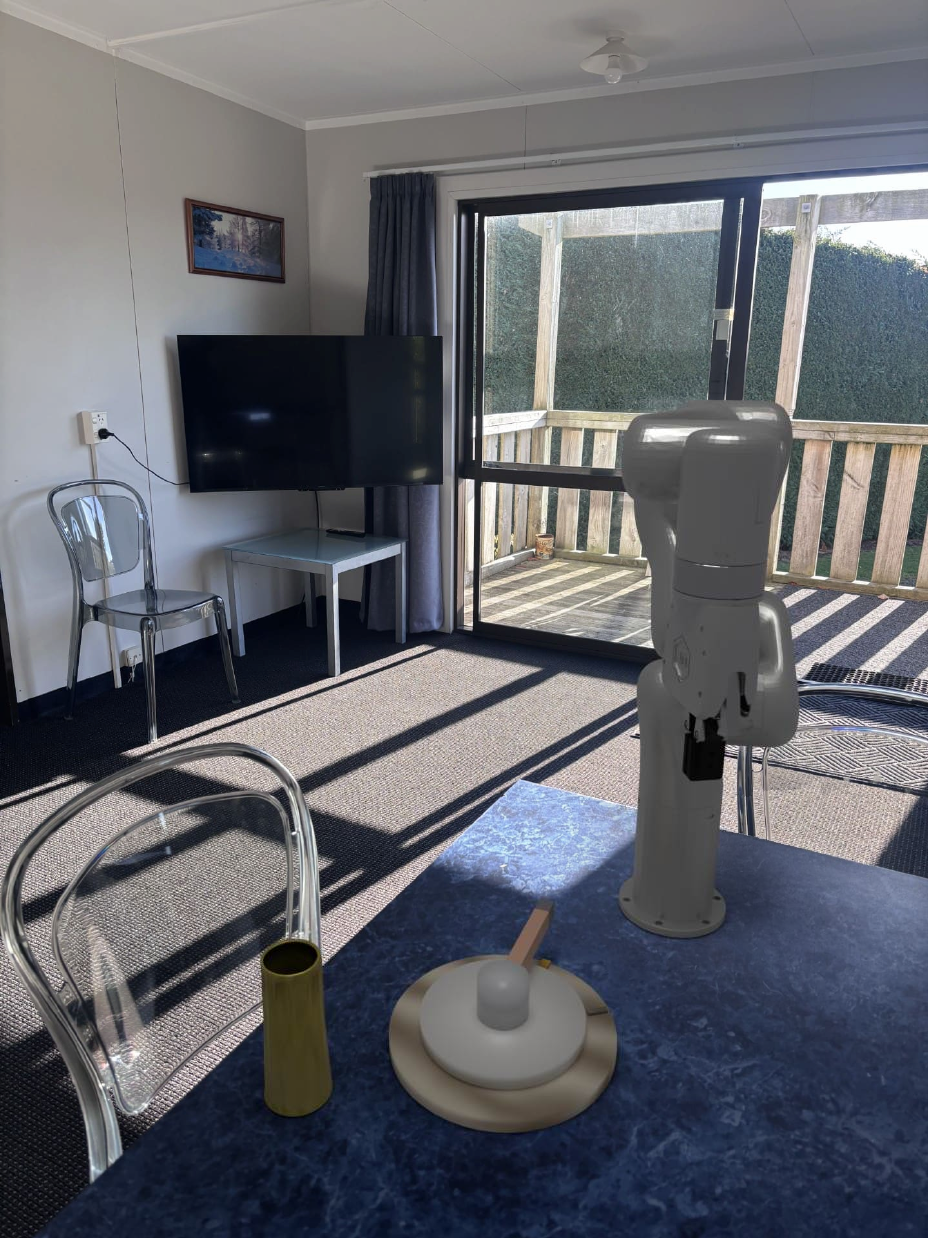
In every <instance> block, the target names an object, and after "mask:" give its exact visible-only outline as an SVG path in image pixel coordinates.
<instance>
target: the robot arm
mask: <svg viewBox="0 0 928 1238" xmlns="http://www.w3.org/2000/svg"><path fill="white" fill-rule="evenodd" d="M793 436H794V434H793V424H792V421H791V418H790V416H789V414H788V412H787V410H786V409H785V408H784V407H783V406H782V405H781V404H779V403H777V402H775V401H771V400H745V399H743V400H742V399H741V400H738V399H737V400H735V399H733V400H732V399H731V400H730V399H729V400H728V399H725V400H724V399H717V400H716V399H699V400H691V401H688V402H685V403H683V404H681V405H679V406H678V407H676V408H675V409H673V410H668V411H660V412H659V411H658V412H653V413H645V414H640V415H637V416H635V417H634V418H633V419H632V420H631V422H630V423H629V425H628V427H627V430H626V431H625V436H624V439H623V443H622V450H621V457H620V459H621V462H620V463H621V464H620V469H621V479H622V485H623V487H624V489H625V491H626V493H627V495H628V496H629V498H631V499H632V500H633V511H634V512H633V514H634V521H635V526H636V532H637V535H638V538H639V541H640V544H641V547H642V550H643V553H644V555H645V557H646V560H647V563H648V564H649V568H650V574H651V577H650V578H651V581H650V583H651V585H650V586H651V589H650V594H651V596H650V635H651V641H652V644H653V648H654V650H655V652H656V653H657V655H658V656H660V657H661V658H659V659H657V660H654V661H652V662H650V663H648V664H647V665H646V666H644V668H643V669H642V670H641V672H640V673H639V676H638V678H637V683H636V707H637V708H636V709H637V717H638V718H637V719H638V729H639V778H638V792H637V793H638V794H637V795H638V797H637V810H636V825H635V826H636V827H635V842H634V856H633V857H634V858H633V859H634V860H633V874H632V876H631V877H629V878H628V879H627V880H625V881H624V882H623V884H622V885H621V887H620V889H619V890H618V891H619V892H618V905H619V907H620V908H619V909H620V910H621V912H622V913H623V914H624V916H625V917H626V918H627V919H628V920H629V921H630V922H632V923H633V924H634V925H637V926H638V927H640V928H642V929H644V930H646V932H647V931H648V932H650V933H653V934H656V935H659V936H664V937H669V938H676V939H677V938H679V939H682V938H683V939H685V938H686V939H687V938H697V937H702V936H705V935H708V934H711V933H712V932H715V931H716V930H717V929H719V927H721V926H722V925H723V923H724V921H725V918H726V913H727V912H726V910H727V905H726V902H725V899H724V898H723V896H722V894H721V892H719V891H718V890H717V888H715V883H716V872H717V859H718V851H719V839H720V830H721V829H720V827H721V815H722V807H723V805H722V804H723V795H724V794H723V793H724V779H723V778H724V777H723V776H724V767H725V756H726V747H727V746H737V747H750V748H752V747H753V748H767V749H768V748H769V749H770V748H778V747H783V746H784V745H786V744H788V743H789V742H790V741H792V740H793V738H794V737H795V735H796V733H797V730H798V728H799V727H798V726H799V720H800V719H799V718H800V698H799V687H798V678H797V670H796V669H797V668H796V661H795V653H794V652H795V650H794V643H793V633H792V631H793V630H792V625H791V619H790V613H789V610H788V608H787V606H786V603H785V602H784V601H783V599H782V598H781V597H780V596H779V595H778V594H776V593H775V592H773V591H769V590H766V589H765V588H766V579H767V570H768V569H767V567H768V558H769V555H768V554H769V547H770V536H771V535H770V534H771V526H772V515H773V514H774V511H775V509H776V506H777V502H778V499H779V495H780V492H781V488H782V485H783V483H784V480H785V477H786V474H787V470H788V468H789V463H790V460H791V457H792V455H791V454H792V449H793V448H792V447H793V442H794V440H793V439H794V437H793Z"/></svg>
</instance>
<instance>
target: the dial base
mask: <svg viewBox="0 0 928 1238" xmlns="http://www.w3.org/2000/svg"><path fill="white" fill-rule="evenodd" d="M508 956H509V954H486V955H485V954H484V955H483V954H482V955H476V956H470V957H465V958H461V959H457V960H454V961H451V962H449V963H445V964H443V965H440V966H438V967H435V968H434V969H432V970H430V971H428V972H427V973H425V974H424V975H422V976H420V977H419V978H418V979H416V980H415V981H414V982H413V983H412V984H411V985H409V987H408V988H406V990H405V991H404V992H403V994H402V995H401V996H400V998H399V999H398V1001H397V1002H396V1004H395V1006H394V1008H393V1011H392V1013H391V1016H390V1020H389V1026H388V1027H389V1028H388V1040H389V1041H388V1042H389V1043H388V1045H389V1046H388V1047H389V1049H388V1051H389V1056H390V1061H391V1066H392V1068H393V1070H394V1073H395V1075H396V1078H397V1079H398V1081H399V1082H400V1084H401V1085H402V1087H403V1088H404V1089H405V1091H406V1092H407V1093H408V1094H409V1095H410V1096H411V1097H412V1098H413V1099H414V1100H415V1101H416V1102H418V1104H419V1105H421V1106H422V1107H424V1109H426V1110H428V1111H429V1112H431V1113H433V1115H435V1116H438V1117H440V1118H441V1119H444V1120H446V1121H448V1122H450V1123H453V1124H456V1125H458V1126H461V1127H463V1128H468V1129H473V1130H477V1131H481V1132H491V1133H503V1134H504V1133H505V1134H507V1133H508V1134H513V1133H526V1132H527V1133H528V1132H533V1131H538V1130H543V1129H547V1128H549V1127H550V1128H551V1127H553V1126H556V1125H559V1124H561V1123H564V1122H566V1121H568V1120H570V1119H572V1118H574V1117H576V1116H577V1115H579V1114H581V1113H582V1112H584V1111H585V1110H587V1109H588V1108H589V1107H590V1106H591V1105H592V1104H594V1103H595V1102H596V1101H597V1100H598V1099H599V1098H600V1096H601V1095H602V1094H603V1092H605V1089H606V1088H607V1086H608V1085H609V1083H610V1082H611V1079H612V1076H613V1075H614V1074H613V1073H614V1071H615V1067H616V1063H617V1052H618V1034H617V1028H616V1023H615V1020H614V1018H613V1015H612V1012H611V1011H610V1009H609V1007H608V1005H607V1004H606V1003H605V1001H604V1000H603V999H602V997H601V996H600V995H599V994H598V993H597V992H596V991H595V990H594V989H593V988H592V986H590V985H589V984H588V983H587V982H585V981H584V980H582V979H581V978H579V977H578V976H577V975H575V974H573V973H572V972H570V971H568V970H566V969H564V968H562V967H560V966H557V965H554V964H552V960H548V959H545V958H541V960H540V959H536V958H533V959H532V961H531V964H535V965H538V966H540V967H543V968H545V969H547V970H549V971H551V972H553V973H555V974H557V975H558V976H560V977H561V978H563V979H564V980H565V981H566V982H567V983H569V984H570V985H571V987H572V988H573V989H574V990H575V991H576V992H577V994H578V995H579V997H580V999H581V1001H582V1003H583V1005H584V1009H585V1012H586V1034H585V1042H584V1046H583V1049H582V1051H581V1053H580V1055H579V1056H578V1058H577V1059H576V1061H575V1062H574V1063H573V1064H572V1065H571V1066H570V1067H569V1068H568V1069H567V1070H566V1071H564V1072H563V1073H562V1074H560V1075H559V1076H557V1077H555V1078H553V1079H552V1080H549V1081H547V1082H545V1083H542V1084H539V1085H535V1086H532V1087H527V1088H521V1089H492V1088H485V1087H481V1086H477V1085H473V1084H470V1083H467V1082H465V1081H462V1080H460V1079H458V1078H456V1077H454V1076H452V1075H451V1074H449V1073H448V1072H446V1071H445V1070H443V1069H442V1068H441V1067H440V1066H439V1065H437V1064H436V1063H435V1061H434V1060H433V1059H432V1058H431V1057H430V1055H429V1054H428V1052H427V1051H426V1049H425V1047H424V1045H423V1042H422V1039H421V1034H420V1008H421V1003H422V1000H423V998H424V996H425V994H426V992H427V991H428V989H429V988H430V987H431V985H432V984H433V983H434V982H435V981H436V980H437V979H439V978H440V977H441V976H443V975H444V974H445V973H447V972H449V971H451V970H452V969H455V968H457V967H459V966H462V965H465V964H468V963H472V962H476V961H481V960H489V959H507V957H508Z"/></svg>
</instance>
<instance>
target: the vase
mask: <svg viewBox="0 0 928 1238" xmlns="http://www.w3.org/2000/svg"><path fill="white" fill-rule="evenodd" d="M259 965H260V976H261V977H260V978H261V979H260V980H261V1000H262V1001H261V1002H262V1004H261V1005H262V1018H263V1019H262V1021H263V1063H264V1065H263V1066H264V1068H263V1071H264V1072H263V1073H264V1091H263V1097H264V1101H265V1103H266V1105H267V1106H268V1108H269V1109H270V1110H271V1111H272V1112H274V1113H276V1114H278V1115H281V1116H285V1117H291V1118H295V1117H297V1118H298V1117H302V1116H307V1115H309V1114H312V1113H314V1112H316V1111H317V1110H319V1109H320V1108H322V1106H324V1105H325V1103H327V1101H328V1100H329V1098H330V1097H331V1095H332V1091H333V1087H334V1086H333V1083H334V1082H333V1079H332V1071H331V1062H330V1053H329V1044H328V1036H327V1028H326V1017H325V999H324V997H325V996H324V980H323V979H324V978H323V976H324V974H323V957H322V953H321V950H320V948H319V947H318V945H316V944H315V943H314V942H312V941H310V940H307V939H304V938H303V939H302V938H287V939H283V940H280V941H278V942H275V943H273V944H271V945H269V946H267V948H266V949H264V951H263V952H262V954H261V956H260V959H259Z"/></svg>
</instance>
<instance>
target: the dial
mask: <svg viewBox="0 0 928 1238" xmlns="http://www.w3.org/2000/svg"><path fill="white" fill-rule="evenodd" d="M554 919H555V901H553V900H549V899H545V898H539V900H538V901H537V903H536V905H535V906H534V909H533V911H532V912H531V914H530V916H529V918H528V920H527V922H526V924H525V925H524V926H523V929H522V930H521V932H520V934H519V936H518V938H517V939H516V942H515V943H514V945H513V946H512V948H511V950H510V952H509V954H508V955H509V956H508V957H507V959H489V960H481V961H476V962H472V963H468V964H465V965H462V966H459V967H457V968H455V969H452V970H451V971H449V972H447V973H445V974H444V975H443V976H441V977H440V978H439V979H437V980H436V981H435V982H434V983H433V984H432V985H431V987H430V988H429V989H428V991H427V992H426V994H425V996H424V998H423V1000H422V1003H421V1008H420V1034H421V1039H422V1042H423V1045H424V1047H425V1049H426V1051H427V1052H428V1054H429V1055H430V1057H431V1058H432V1059H433V1060H434V1061H435V1063H436V1064H437V1065H439V1066H440V1067H441V1068H442V1069H443V1070H445V1071H446V1072H448V1073H449V1074H451V1075H452V1076H454V1077H456V1078H458V1079H460V1080H462V1081H465V1082H467V1083H470V1084H473V1085H477V1086H481V1087H485V1088H492V1089H521V1088H527V1087H532V1086H535V1085H539V1084H542V1083H545V1082H547V1081H549V1080H552V1079H553V1078H555V1077H557V1076H559V1075H560V1074H562V1073H563V1072H564V1071H566V1070H567V1069H568V1068H569V1067H570V1066H571V1065H572V1064H573V1063H574V1062H575V1061H576V1059H577V1058H578V1056H579V1055H580V1053H581V1051H582V1049H583V1046H584V1042H585V1034H586V1012H585V1009H584V1005H583V1003H582V1001H581V999H580V997H579V995H578V994H577V992H576V991H575V990H574V989H573V988H572V987H571V985H570V984H569V983H567V982H566V981H565V980H564V979H563V978H561V977H560V976H558V975H557V974H555V973H553V972H551V971H549V970H547V969H545V968H543V967H540V966H538V965H535V964H531V961H532V959H534V957H535V954H536V953H537V951H538V949H539V947H540V946H541V943H542V942H543V939H544V937H545V936H546V934H547V931H548V930H549V928H550V926H551V924H552V922H553V920H554Z"/></svg>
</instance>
